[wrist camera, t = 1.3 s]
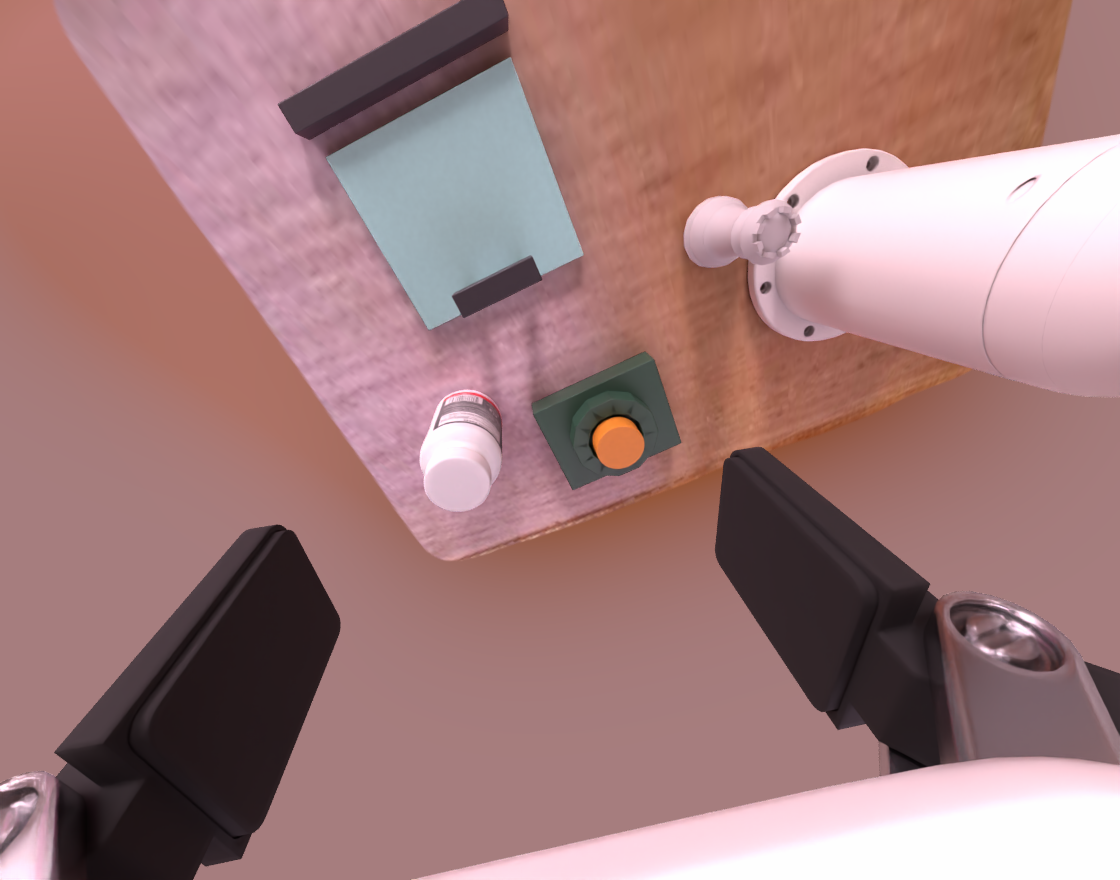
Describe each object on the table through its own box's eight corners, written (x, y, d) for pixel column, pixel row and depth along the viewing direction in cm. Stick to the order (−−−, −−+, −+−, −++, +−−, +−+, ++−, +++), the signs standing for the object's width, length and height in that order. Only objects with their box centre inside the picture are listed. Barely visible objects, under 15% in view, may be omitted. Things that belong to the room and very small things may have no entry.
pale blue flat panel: (510, 61, 23) (511, 15, 18) (582, 254, 28) (598, 259, 23) (330, 159, 24) (286, 140, 19) (430, 328, 29) (416, 347, 24)
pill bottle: (479, 459, 35) (471, 534, 26) (422, 427, 33) (393, 497, 24) (515, 411, 33) (519, 474, 24) (457, 374, 31) (439, 429, 22)
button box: (645, 350, 32) (662, 365, 28) (672, 431, 36) (690, 453, 32) (531, 403, 33) (534, 423, 29) (569, 477, 36) (576, 503, 33)
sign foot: (496, -2, 22) (496, -21, 20) (508, 30, 22) (508, 15, 21) (292, 112, 23) (276, 103, 21) (309, 140, 24) (295, 133, 22)
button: (629, 408, 30) (636, 418, 28) (643, 446, 32) (650, 457, 30) (584, 428, 30) (589, 438, 29) (601, 464, 32) (606, 476, 30)
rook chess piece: (746, 251, 29) (823, 256, 22) (689, 277, 30) (746, 291, 23) (735, 184, 27) (815, 167, 20) (673, 214, 28) (731, 207, 21)
